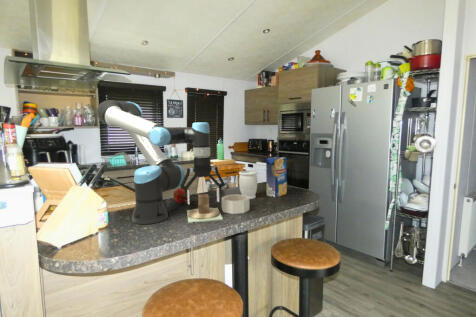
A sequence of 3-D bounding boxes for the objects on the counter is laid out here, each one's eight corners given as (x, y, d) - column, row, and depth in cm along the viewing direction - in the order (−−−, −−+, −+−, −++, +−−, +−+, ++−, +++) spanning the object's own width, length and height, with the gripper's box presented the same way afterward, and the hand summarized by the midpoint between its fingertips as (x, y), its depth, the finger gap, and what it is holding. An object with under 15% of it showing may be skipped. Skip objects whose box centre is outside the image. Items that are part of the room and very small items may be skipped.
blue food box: (286, 193, 164) (286, 157, 161) (275, 197, 156) (275, 159, 154) (277, 192, 169) (277, 156, 166) (266, 195, 161) (266, 158, 158)
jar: (257, 195, 161) (257, 170, 160) (257, 199, 151) (257, 173, 149) (240, 195, 162) (239, 170, 161) (238, 199, 152) (238, 173, 150)
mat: (188, 223, 116) (188, 221, 116) (187, 211, 132) (187, 210, 132) (222, 220, 119) (222, 218, 119) (217, 208, 135) (217, 207, 135)
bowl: (224, 214, 126) (224, 202, 125) (220, 206, 139) (220, 195, 138) (251, 212, 129) (251, 200, 128) (245, 205, 141) (244, 193, 141)
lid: (188, 220, 117) (187, 200, 116) (187, 211, 131) (186, 192, 130) (221, 217, 120) (221, 198, 119) (217, 208, 134) (216, 190, 133)
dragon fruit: (179, 202, 155) (185, 210, 145) (167, 195, 151) (173, 203, 141) (187, 189, 156) (194, 197, 146) (176, 182, 152) (182, 190, 141)
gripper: (173, 158, 116) (175, 206, 119) (230, 156, 121) (231, 202, 124) (173, 156, 124) (176, 202, 126) (227, 154, 129) (228, 198, 131)
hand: (203, 202), depth 125 cm, fingers open, 13 cm apart
